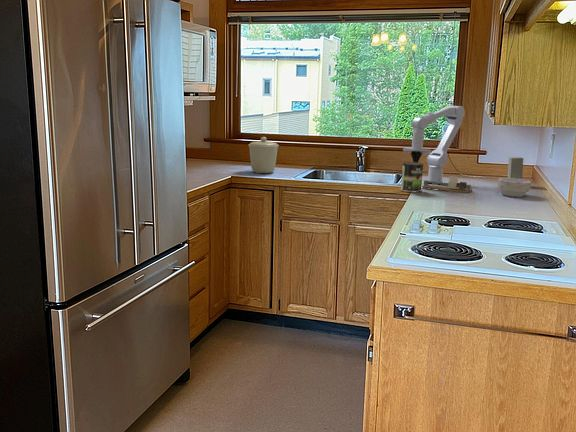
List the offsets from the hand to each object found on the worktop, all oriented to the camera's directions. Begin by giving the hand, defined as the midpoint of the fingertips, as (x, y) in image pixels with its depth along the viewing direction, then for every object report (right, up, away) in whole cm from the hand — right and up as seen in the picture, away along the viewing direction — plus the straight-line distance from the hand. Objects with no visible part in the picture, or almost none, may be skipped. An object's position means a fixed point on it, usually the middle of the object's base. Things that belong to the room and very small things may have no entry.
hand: (415, 165), depth 296 cm
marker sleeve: (+17, -12, -11) cm, 23 cm away
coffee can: (-6, -14, -14) cm, 21 cm away
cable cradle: (+14, -13, -9) cm, 21 cm away
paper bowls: (+44, -17, -20) cm, 51 cm away
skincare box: (+57, -10, +9) cm, 58 cm away
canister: (-83, -1, +32) cm, 89 cm away
